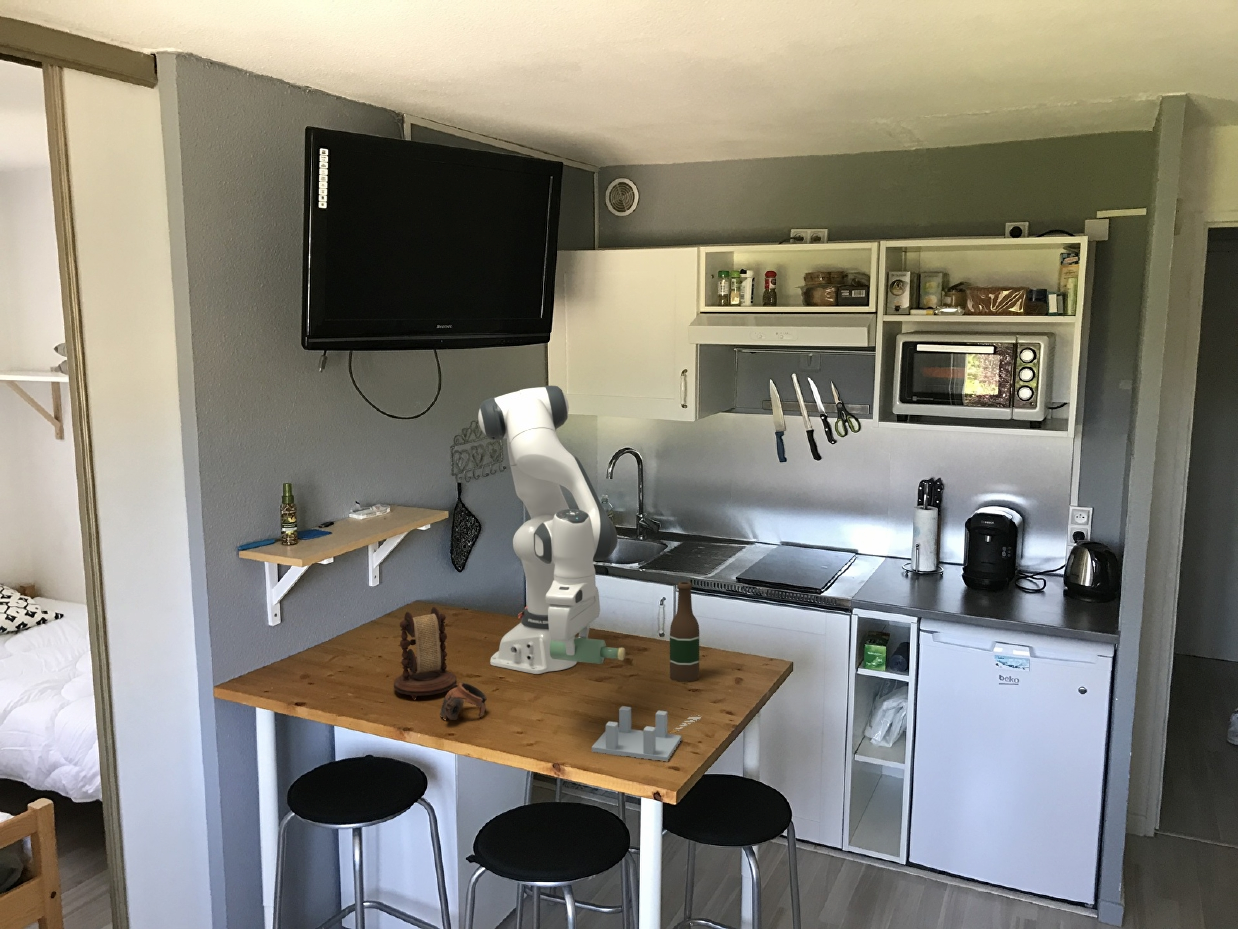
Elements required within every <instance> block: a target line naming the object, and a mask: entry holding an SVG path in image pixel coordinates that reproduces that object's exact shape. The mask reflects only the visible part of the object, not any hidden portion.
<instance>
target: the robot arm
mask: <svg viewBox="0 0 1238 929" xmlns="http://www.w3.org/2000/svg"><path fill="white" fill-rule="evenodd" d="M569 409H570V406H569V401H568V398H567V396H566V394H565V393H564V392H563V390H562V388H561V387H559V386H558V385H544V386H542V387H539V386H538V387H530V388H524V389H520V390H519V389H518V391H512V392H510V393H506V394H503V395H499V396H497V397H496V396H495V397H494V396H493V397H489V398H488V399H485V400H483V401H482V402H481V403H480V405H479V410H478V414H477V415H478V419H477V420H478V424H479V427H480V429H481V431H482V433H483V434H484V435H485V438H487V439H489V440H490V441H491V440H492V441H502V440H503V439H506V443H507V444H506V445H507V454H508V461H509V466H510V470H511V475H512V480H513V484H514V488H515V489H514V490H515V494H516V496H517V497H518V499H520V500H521V501H522V502H523V504H524V506H525V508H526V511H527V512H528V515H529V516H530V519H528V520H527V521H525V522H524V523H523V524H522V525H520V526H519V528H518V529H517V530H516V531H515V533H514V536H513V538H512V547H513V548H512V549H513V551H514V553H515V554H516V556H517V557H518V558H519V559H520V561H521V565H522V568H523V571H524V576H525V581H526V582H525V583H526V604H527V606H525V607H524V609H523V610H521V611H520V613H518V619H520V622H519V623H518V624H517V625H516V626H514V627H513V628H511V629H510V630H509V631H508V632H507V633H505V634H504V635H503V637H502V638H501V640H500V643H499V649H498V651H496V652H495V653H493V655H492V656H491V657H490V661H489V663H490V665H491V666H494V667H498V668H503V669H507V670H514V671H519V672H524V673H527V674H528V673H529V674H535V675H539V674H543V673H547V672H555V671H561V670H566V669H570V668H572V667H574V666H576V664H577V663H578V661H568V660H559V659H552V658H551V656H550V643H551V640H553V641H558V642H564V644H565V646H566V654H567V655H574V654H575V653H576V652H577V650H576V645H575V644H574V639H575V636H576V635H577V634H578V637H577V638H587V639H589V638H588V636H589V631H590V628H591V625H590V624H591V623H592V622H594V621H595V620H596V619H598V618H599V616H600V612H601V605H600V604H601V603H600V593H599V592H600V591H599V589H598V586H597V585H596V569H595V566H594V562H596V561H598V562H599V561H600V562H601V561H602V562H603V561H606V560H607V559H608V558H610V557H611V555H612V554H613V553H615V552H614V551H615V550H616V549H617V546H618V543H619V542H618V539H619V538H618V532H617V529H616V527H615V524H614V522H613V521H612V520H611V518H610V516H608V514H607V513H606V511H605V509H604V507H603V505H602V503H601V501H600V499H599V497H598V495H597V493H596V491H595V489H594V486H593V484H592V482H591V480H590V478H589V475H588V474H587V472H586V469H585V468H584V466H583V464H582V463H581V461H580V460H579V458H578V457H577V456H575V455H574V454H572V453H570V452H569V451H568V450H567V449H566V448H565V447H564V445H563V444H562V443H561V441H560V439H559V437H558V434H557V429H558V428H560V427H562V426H563V425H565V423H566V421H567V420H568V418H569V416H568V415H569ZM561 486H562V487H564V488H566V489H567V490H568V491H569V492H570V493H571V495H572V497H573V499H574V502H575V503H576V505H577V507H578V509H576V508H570V507H569V505H568V503H567V501H566V498H565V496H564V493H563V490H562V488H561Z"/></svg>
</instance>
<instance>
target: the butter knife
mask: <svg viewBox="0 0 1238 929" xmlns="http://www.w3.org/2000/svg"><path fill="white" fill-rule="evenodd" d="M697 715H698V716H701V715H700V714H697ZM701 717H702V716H701ZM701 717H690V716H689V717H688V718H687V719H693V720H696V722H698V721H697V719H699V720H701V719H702V718H701ZM693 720H690V721H685V720H684V721H683V722H694V723H695V721H693ZM683 722H682V723H681V724H684V725H681V724H679V726H686V727H688V725H687V724H686V723H683ZM688 724H689V725H691V723H688ZM674 729H681V730H682V729H683V727H680V728H677V727H675V728H674ZM679 731H680V730H678V732H679Z"/></svg>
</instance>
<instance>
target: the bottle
mask: <svg viewBox="0 0 1238 929" xmlns="http://www.w3.org/2000/svg"><path fill="white" fill-rule="evenodd" d="M574 644H575V645H576V650H577V652H576V653H575V654H574V655H567V654H566V646H565V644H564V642H558V641H553V640H551V643H550V656H551V658H552V659H559V660H568V661H577V663H579V662H580V663H588V664H589V663H590V664H599V665H602V664H603V663H604V662H605V659H613V660H618V661H624V659H625V657H626V648H625V647H610V646H609V647H608V646H607V644H606V640H604V639H597V638H596V639H595V638H588V639H587V638H578V637H575V639H574Z"/></svg>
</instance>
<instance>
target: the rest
mask: <svg viewBox="0 0 1238 929" xmlns="http://www.w3.org/2000/svg"><path fill="white" fill-rule="evenodd" d="M618 719H619V720H618V722H617V721H608V722H607V723H606V724H605V731H604V732H603V733H602V735H601V736H600V737H599V738H598V739H596V741H595V742H594V744H593V745H592V746H591V753H597V752H598V754H605V753H606V754H605V755H614V756H620V755H621V757H626V756H631V757H630V758H634V757H636V758H635V759H641V758H644V760H648V759H652V760H651V761H655V760H662V761H661V762H663V760H664V761H667V760H668V759H669V760H670V759H671V757H670V756H672V755H673V754H674V752H675V751H676V749H677V748H676V746H677V747H678V746H679V745H678V744H680V743H681V742H682V735H679V734H673V733H668V711H664V710H657V712H656V713H655V727H654V726H647V725H646V726H645V727H644V728H643V730H639V729H633V728H632V707H631V706H624V705H622V706H621V707H620V708H619V709H618ZM680 741H681V742H680ZM674 750H675V751H674ZM673 751H674V752H673ZM672 753H673V754H672ZM671 754H672V755H671ZM669 760H668V761H669ZM668 761H667V762H668Z"/></svg>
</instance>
